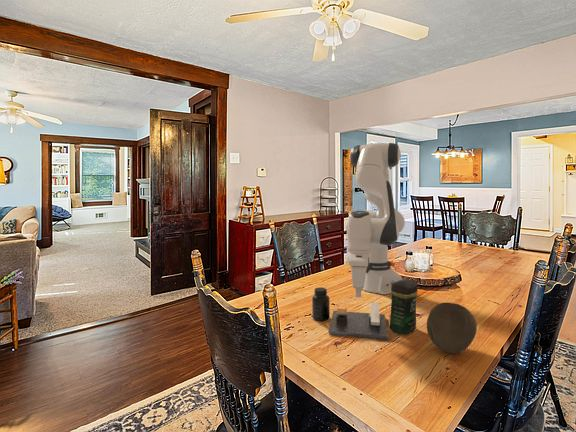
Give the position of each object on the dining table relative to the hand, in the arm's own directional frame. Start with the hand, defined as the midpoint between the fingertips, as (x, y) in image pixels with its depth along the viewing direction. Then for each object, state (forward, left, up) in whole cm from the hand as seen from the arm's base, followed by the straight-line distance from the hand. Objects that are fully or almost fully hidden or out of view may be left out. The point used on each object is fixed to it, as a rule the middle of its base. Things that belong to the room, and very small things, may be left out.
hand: (358, 292), depth 121 cm
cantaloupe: (-22, +22, -13) cm, 34 cm away
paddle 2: (-5, +2, -9) cm, 11 cm away
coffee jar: (-15, +7, -13) cm, 21 cm away
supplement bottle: (+12, -10, -13) cm, 20 cm away
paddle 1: (+6, -2, -9) cm, 11 cm away
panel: (0, 0, -13) cm, 13 cm away
